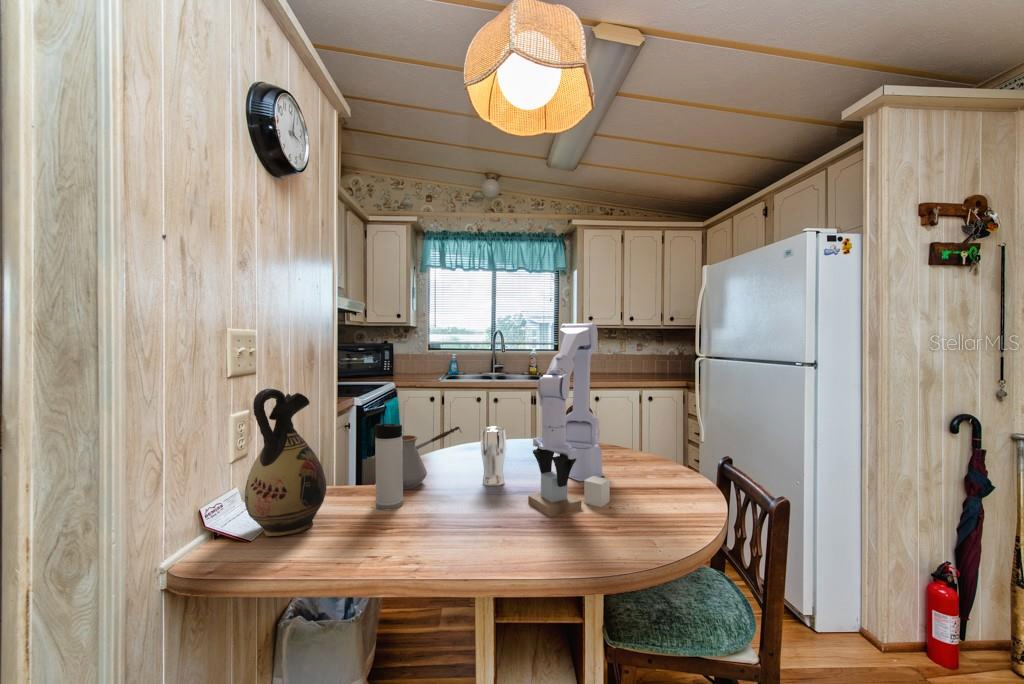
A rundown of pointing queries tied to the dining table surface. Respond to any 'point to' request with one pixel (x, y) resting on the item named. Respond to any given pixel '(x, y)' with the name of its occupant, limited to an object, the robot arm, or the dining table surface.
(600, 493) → the cream block
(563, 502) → the brown block
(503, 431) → the beer glass
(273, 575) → the dining table surface
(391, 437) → the travel mug
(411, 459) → the coffee pot
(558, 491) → the slate block
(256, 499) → the ceramic jug
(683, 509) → the dining table surface
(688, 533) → the dining table surface
